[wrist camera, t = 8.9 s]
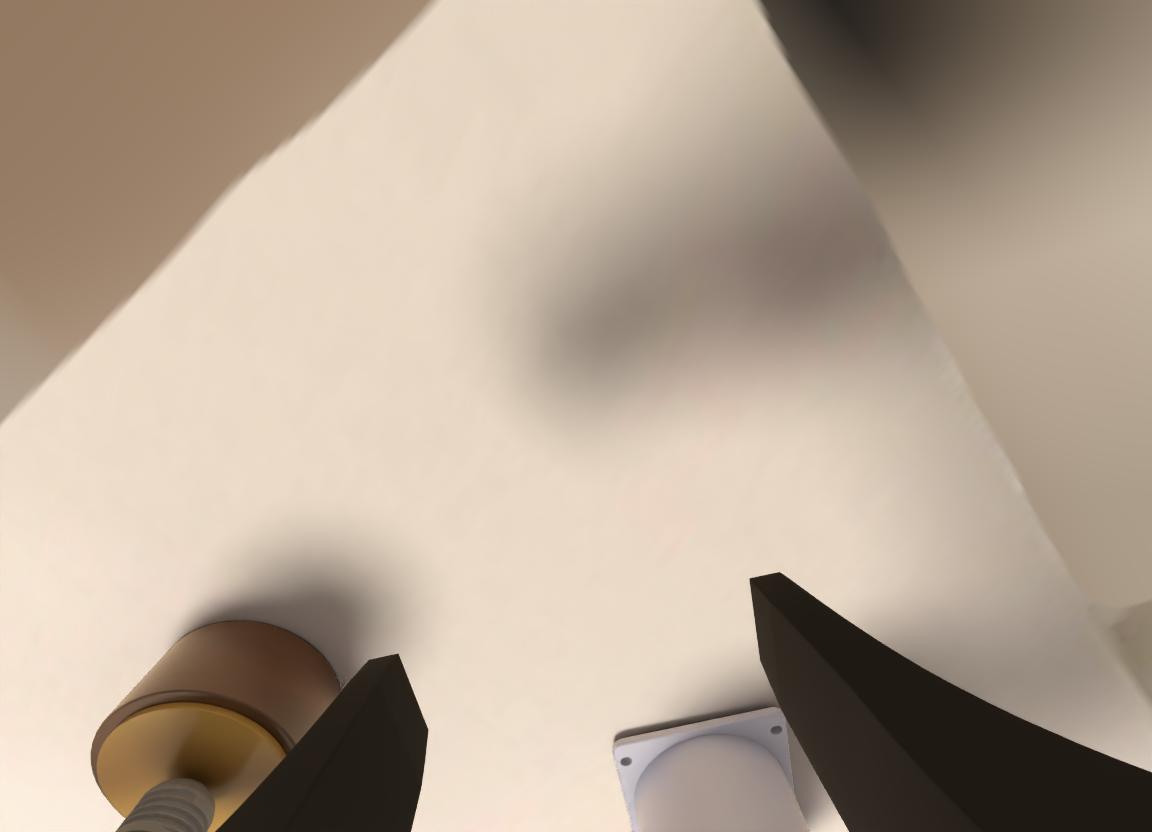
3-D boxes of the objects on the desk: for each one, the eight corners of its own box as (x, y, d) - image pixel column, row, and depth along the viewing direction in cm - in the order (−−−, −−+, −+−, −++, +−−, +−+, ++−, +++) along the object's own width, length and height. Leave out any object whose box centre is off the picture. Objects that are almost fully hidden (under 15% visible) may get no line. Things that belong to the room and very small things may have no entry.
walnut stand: (365, 739, 24) (331, 831, 21) (204, 773, 25) (141, 871, 21) (304, 603, 22) (254, 678, 18) (127, 641, 22) (41, 723, 18)
